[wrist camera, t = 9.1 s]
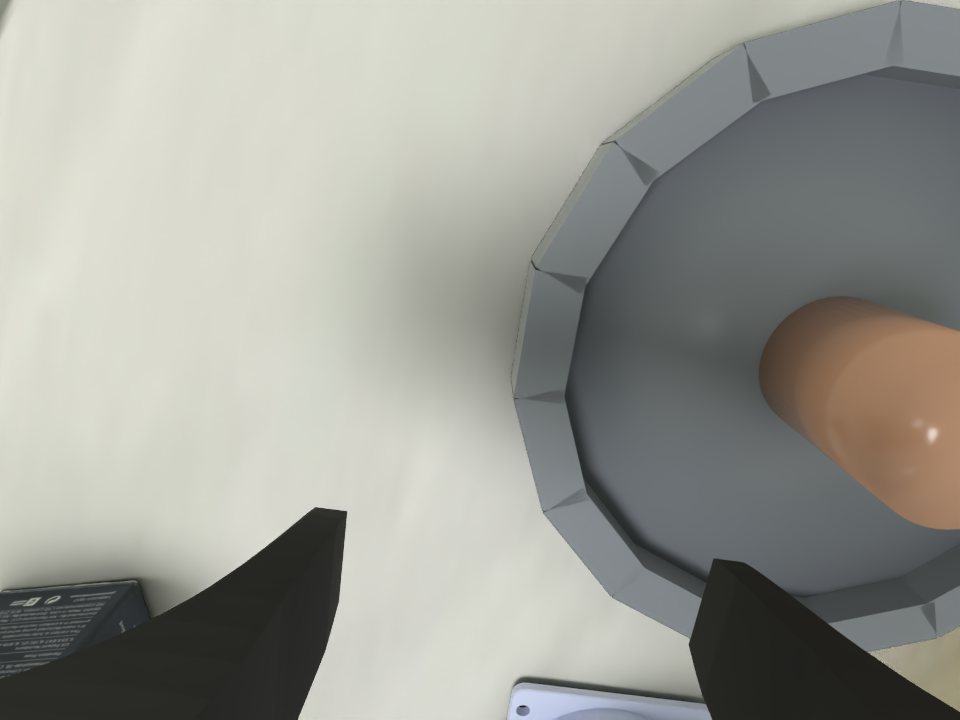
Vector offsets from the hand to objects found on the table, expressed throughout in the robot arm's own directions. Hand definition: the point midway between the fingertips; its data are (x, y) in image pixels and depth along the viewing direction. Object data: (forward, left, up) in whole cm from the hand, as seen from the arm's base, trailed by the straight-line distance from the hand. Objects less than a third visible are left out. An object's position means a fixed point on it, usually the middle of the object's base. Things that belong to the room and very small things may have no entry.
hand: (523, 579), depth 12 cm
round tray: (+3, -10, -9) cm, 14 cm away
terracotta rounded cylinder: (+3, -10, -9) cm, 14 cm away
